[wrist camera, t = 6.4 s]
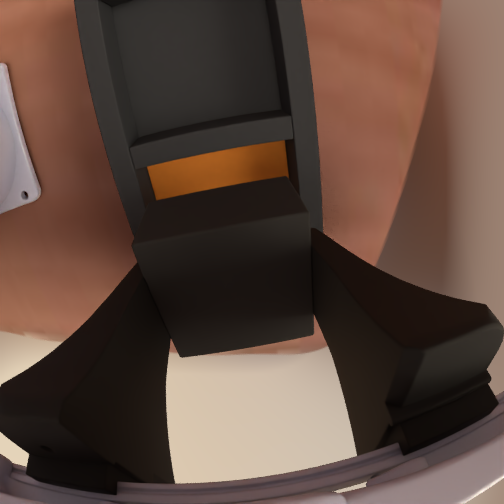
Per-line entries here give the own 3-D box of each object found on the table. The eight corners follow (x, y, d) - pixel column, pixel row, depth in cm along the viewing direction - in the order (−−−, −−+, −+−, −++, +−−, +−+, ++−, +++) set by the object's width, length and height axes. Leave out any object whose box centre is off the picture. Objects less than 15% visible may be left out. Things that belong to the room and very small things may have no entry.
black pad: (183, 305, 14) (180, 358, 11) (147, 201, 11) (129, 245, 8) (297, 284, 14) (314, 335, 11) (287, 175, 11) (310, 211, 8)
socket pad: (167, 281, 18) (163, 310, 16) (93, -1, 9) (72, -11, 7) (311, 254, 18) (324, 281, 16) (277, -39, 9) (290, -56, 7)
